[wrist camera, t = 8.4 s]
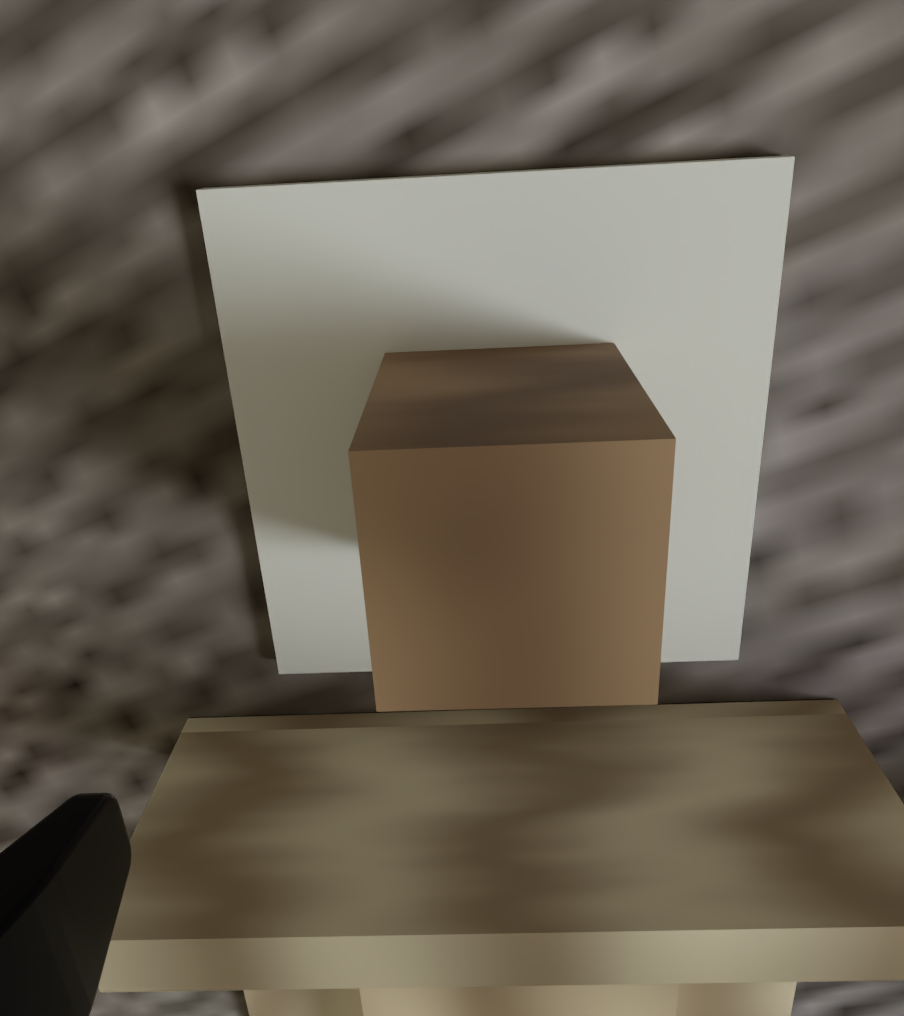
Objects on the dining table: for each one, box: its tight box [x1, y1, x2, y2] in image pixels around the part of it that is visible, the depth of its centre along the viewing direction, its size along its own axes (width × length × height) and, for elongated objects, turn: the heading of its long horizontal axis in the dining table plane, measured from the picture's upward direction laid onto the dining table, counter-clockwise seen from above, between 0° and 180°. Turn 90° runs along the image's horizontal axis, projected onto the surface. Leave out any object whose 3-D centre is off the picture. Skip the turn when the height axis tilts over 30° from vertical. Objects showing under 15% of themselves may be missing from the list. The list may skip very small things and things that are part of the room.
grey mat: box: [196, 155, 795, 674], centre depth 19 cm, size 12×12×1 cm
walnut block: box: [348, 343, 676, 712], centre depth 16 cm, size 5×5×6 cm
